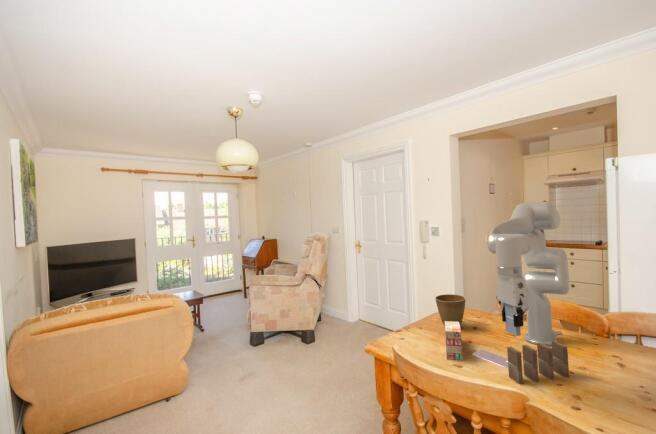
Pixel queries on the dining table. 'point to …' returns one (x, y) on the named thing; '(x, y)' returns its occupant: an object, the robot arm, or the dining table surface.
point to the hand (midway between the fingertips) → (512, 323)
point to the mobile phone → (492, 358)
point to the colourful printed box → (453, 341)
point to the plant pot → (451, 307)
